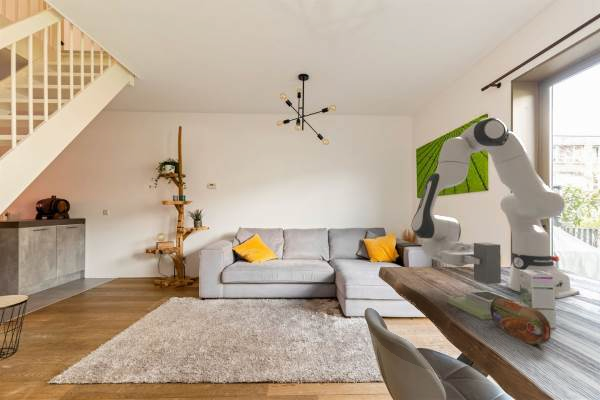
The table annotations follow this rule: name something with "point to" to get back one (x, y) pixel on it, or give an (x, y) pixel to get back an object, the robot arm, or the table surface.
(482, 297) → the deck plate
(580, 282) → the table surface
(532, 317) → the tin
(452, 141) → the robot arm
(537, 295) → the syrup box
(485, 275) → the chute block
